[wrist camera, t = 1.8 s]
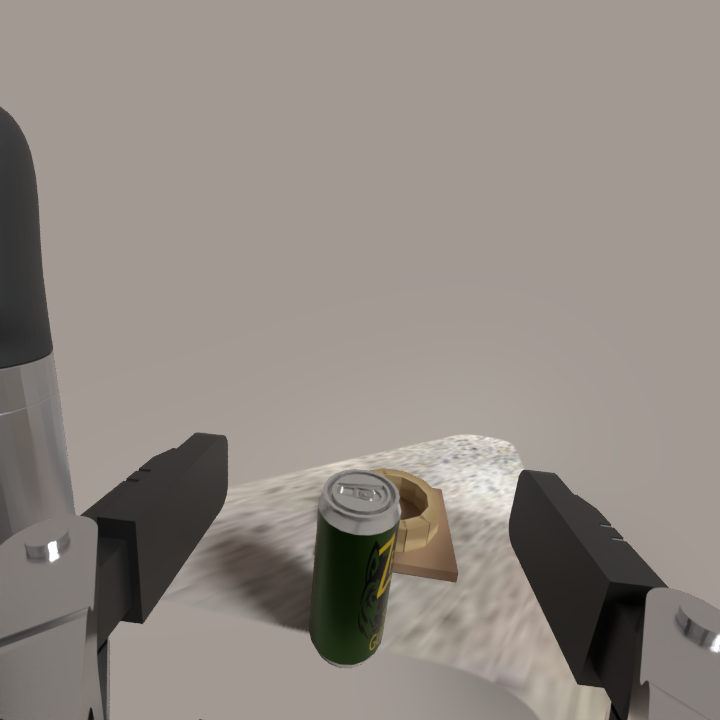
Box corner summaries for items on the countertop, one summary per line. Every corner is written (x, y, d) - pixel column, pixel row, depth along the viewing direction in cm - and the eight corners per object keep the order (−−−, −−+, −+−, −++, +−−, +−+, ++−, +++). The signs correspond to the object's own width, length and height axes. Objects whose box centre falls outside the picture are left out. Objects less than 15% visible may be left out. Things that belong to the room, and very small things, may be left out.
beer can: (299, 665, 24) (310, 512, 20) (317, 593, 29) (328, 462, 26) (379, 681, 23) (403, 527, 20) (383, 605, 28) (403, 473, 25)
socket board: (321, 560, 32) (324, 527, 31) (341, 482, 44) (343, 456, 43) (456, 582, 31) (463, 549, 30) (440, 496, 43) (444, 471, 42)
